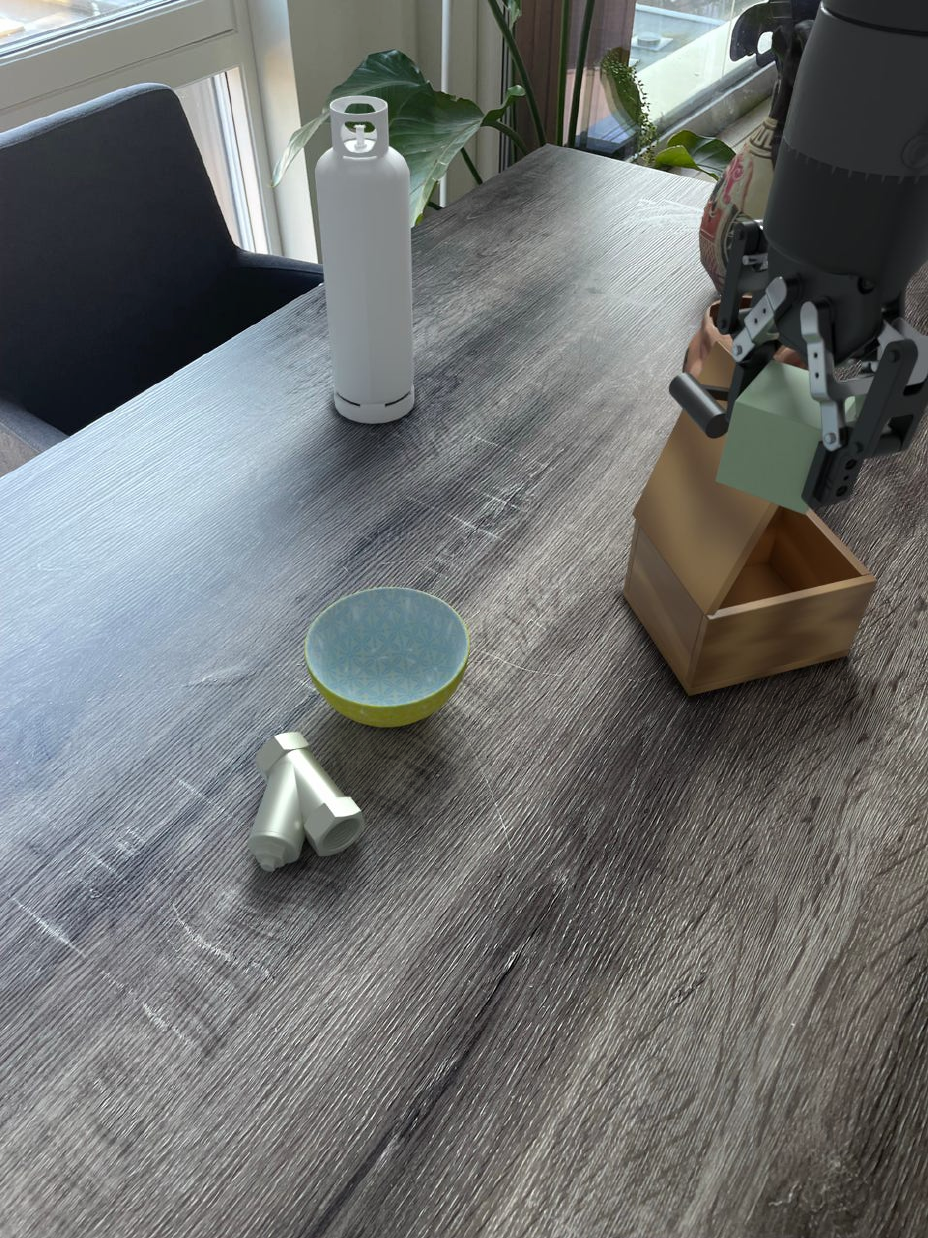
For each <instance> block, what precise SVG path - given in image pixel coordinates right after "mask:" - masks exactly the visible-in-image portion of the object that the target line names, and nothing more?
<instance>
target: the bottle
mask: <svg viewBox="0 0 928 1238" xmlns="http://www.w3.org/2000/svg"><path fill="white" fill-rule="evenodd" d="M353 104H364V105H365V104H367V105H370V106H372V108H373V109H374V111H373V112H369V113H347V112H346V110H347V108H348V107H349V106H350V105H353ZM388 106H389V105H388V102H387V101H386V100H384V99H382V98H379V97H375V96H370V95H348V96H344V97H343V96H342V97H340V98H336V99H334V100H332V101H331V102H330V104H329V116H330V129H331V130H330V131H331V142H332V143H331V144H332V145H331V146H332V147H331V148H328V149H327V150H326V151H325V152H324V153H323V154H322V155H321V156H320V158H319V159H318V161H317V162H316V165H315V169H314V177H315V191H316V200H317V201H316V202H317V213H318V226H319V237H320V247H321V259H322V271H323V282H324V283H323V284H324V294H325V295H324V296H325V308H326V317H327V318H326V319H327V329H328V342H329V354H330V363H331V364H330V365H331V376H332V377H331V378H332V382H333V388H332V389H333V399H334V406H335V410H337V412H338V413H339V414H340V415H341V416H343V417H345V418H346V419H348V420H349V421H354V422H357V423H362V424H371V425H372V424H373V425H374V424H384V423H389V422H393V421H396V420H399V419H401V418H402V417H404V416H406V415H408V414H409V412H410V411H412V410H413V407H414V405H415V386H414V380H415V365H414V363H415V362H414V322H413V321H414V320H413V319H414V318H413V317H414V315H413V272H412V271H413V269H412V268H413V267H412V228H411V182H410V181H411V180H410V179H411V178H410V177H411V176H410V169H409V167H408V164H407V162H406V159H405V157H404V156H403V155H402V154H401V153H400V152H398V150H396V149H395V148H393V147H392V146H390V137H389V136H390V135H389V134H390V133H389V132H390V131H389V112H388V111H389V110H388V109H389V107H388ZM349 122H351V123H365V122H367V123H371V124H372V126H373V127H374V130H373V131H371V132H365V129H366V128H367V126H366V124H362V125H361V124H354V126H353V128H355V132H353V131H350V130H349V129H348V128H347V126H346V123H349ZM402 398H403V399H402ZM398 400H399V401H398ZM348 401H349V402H348ZM396 401H398V402H396ZM350 402H351V403H350ZM394 402H395V403H394ZM352 403H353V404H352ZM354 403H355V404H354ZM391 403H392V404H391ZM356 404H357V405H356ZM386 404H387V405H386Z"/></svg>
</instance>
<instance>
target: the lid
mask: <svg viewBox="0 0 928 1238" xmlns="http://www.w3.org/2000/svg"><path fill="white" fill-rule="evenodd" d="M735 364H736V361H735V360H734V358H733V356H732V353H731V346H729V345H728V344H727V343H726V342H725V341H721V340H716V341H715V343H714V345H713V347H712V349H711V351H710V353H709V355H708V357H707V359H706V361H705V364H704V366H703V368H702V370H701V372H700V374H699V376H698V378H697V380H696V379H695V377H694V376H693V375H692V374H690V373H682V372H681V373H679V374H677V375H675V377H673V378H672V380H671V381H670V383H669V386H668V393H669V395H670V397H671V398H673V400H674V401H675V402H676V403H677V404H678V406H680V408H681V409H682V410H681V411H680V413H679V415H678V417H677V419H676V422H675V423H674V426H673V428H672V429H671V432H670V434H669V436H668V438H667V440H666V442H665V445H664V446H663V449H662V451H661V453H660V454H659V457H658V459H657V461H656V463H655V465H654V466H653V469H652V470H651V473H650V475H649V478H648V480H647V482H646V484H645V486H644V489H643V490H642V492H641V494H640V496H639V498H638V500H637V503H635V506H634V509H633V511H632V513H631V515H632V516H633V518H634V519H635V520H637V522H638V523H639V524H640V526H641V527H642V529H643V530H644V531H645V533H646V534H647V535H648V537H649V538H650V540H651V541H652V542H653V544H654V545H655V547H656V548H657V549H658V551H659V552H660V553H661V555H662V556H663V558H664V559H665V560H666V562H667V563H668V565H669V566H670V567H671V569H672V570H673V571H674V573H675V574H676V576H677V577H678V578H679V580H680V581H681V583H682V584H683V585H684V587H685V588H686V589H687V591H688V592H689V594H690V595H691V596H692V598H693V599H694V601H695V602H696V603H697V605H698V606H699V607H700V609H701V610H702V612H703V613H704V614H705V615H712V616H714V615H715V613H716V612H717V610H718V608H719V607H720V605H721V603H722V602H723V600H724V598H725V596H726V595H727V593H728V591H729V590H730V588H731V586H732V585H733V583H734V581H735V579H736V578H737V576H738V574H739V573H740V571H741V569H742V568H743V566H744V564H745V562H746V561H747V559H748V557H749V556H750V554H751V552H752V551H753V549H754V547H755V545H756V544H757V542H758V540H759V539H760V537H761V535H762V534H763V532H764V530H765V528H766V527H767V525H768V523H769V522H770V520H771V518H772V517H773V515H774V513H775V511H776V510H777V508H778V506H779V505H777V504H775V503H772V502H769V501H767V500H764V499H761V498H759V497H756V496H753V495H751V494H748V493H745V492H743V491H740V490H737V489H735V488H732V487H729V486H727V485H724V484H721V483H718V482H716V478H717V473H718V469H719V465H720V461H721V457H722V453H723V449H724V445H725V440H726V436H727V432H728V428H729V424H730V423H729V422H728V421H727V420H726V419H725V414H726V410H727V398H728V394H729V390H730V385H731V383H732V382H731V381H732V377H733V373H734V368H735Z"/></svg>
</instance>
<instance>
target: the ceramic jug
mask: <svg viewBox="0 0 928 1238" xmlns="http://www.w3.org/2000/svg"><path fill="white" fill-rule="evenodd" d="M814 22H815V19H805V20H802V21H801V22H798V23H796V24H795V25H794V28H793V30H792V32H791V31H790V29H789V28H788V26H786V25H783V24H781V25H779V26H778V27H777V28H776V29H775V30H774V32H773V33H772V35H771V43H770V44H771V45H770V50H771V51H772V52H773V54H775V56H776V57H777V58H778V59H779V60H780V61H781V63H782V74H781V75H782V76H781V83H780V87H779V91H778V92H777V95H776V98H775V102H774V106H773V108H772V110H771V112H770V113H768V115H767V116H766V118H765V119H764V120H763V122H762V123H761V124H760V125H759V127H757V129H756V130H755V131H754V132H753V134H751V136H750V137H749V138H748V139H747V140H746V141H745V143H744V144H743V146H742V147H741V148H740V149H739V150H738V152H737V153H736V154H735V156H734V157H733V158H732V160H731V161H730V162H729V163H728V165H727V166H726V167H725V169H724V170H723V172H722V173H721V175H720V177H719V178H718V179H717V181H716V183H715V185H714V187H713V189H712V191H711V194H710V195H709V197H708V199H707V202H706V204H705V205H704V208H703V214H702V216H701V220H700V225H699V228H698V229H699V230H698V247H699V257H700V258H699V261H700V264H701V266H702V267H703V269H704V270H705V272H706V273H707V275H708V277H709V279H710V280H711V282H712V283H713V285H714V287H715V290H716V292H717V294H718V293H719V294H720V295H722V290H723V285H724V280H725V274H726V269H727V264H728V259H729V253H730V248H731V243H732V238H733V232H734V228H735V226H736V224H737V223H740V222H747V221H751V220H757V219H763V217H764V213H765V209H766V204H767V200H768V196H769V191H770V187H771V183H772V179H773V174H774V170H775V166H776V161H777V157H778V153H779V148H780V144H781V140H782V135H783V131H784V127H785V123H786V119H787V114H788V110H789V106H790V101H791V97H792V93H793V88H794V84H795V80H796V76H797V72H798V68H799V64H800V61H801V58H802V55H803V52H804V49H805V46H806V44H807V41H808V38H809V36H810V33H811V30H812V27H813V25H814ZM719 294H718V299H719V300H721V296H720V295H719ZM752 295H753V292H748V293H746V294H744V295H743V296H752Z"/></svg>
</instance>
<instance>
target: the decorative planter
mask: <svg viewBox="0 0 928 1238" xmlns="http://www.w3.org/2000/svg"><path fill="white" fill-rule="evenodd" d="M751 300H752V296H743V297H742V300H741V305H740V310H741V309H747V308H750V304H751ZM720 301H721V300H716V301H714V302H713V303H712V304H711V305H710V306H709V307H708V308H707V309H706V311H705V312H704V314H703V316H702V318H701V322H700V328H699V329H698V331H697V332H696V333H695V334H694V336H693V337H692V339H691V340H690V342H689V344H688V346H687V348H686V351H685V354H684V357H683V363H682V367H681V368H682V370H681V373H690V374H692V375H693V376H694V377H695V379H696V380H697V378H698V376H699V374H700V372H701V370H702V368H703V366H704V364H705V361H706V359H707V357H708V355H709V353H710V351H711V349H712V347H713V345H714V343H715V341H716V340H721V341H725V342H726V343H727V344H728V345H729V346H732V342H733V340H732V338H731V337H730V335H729V334H728V335H721V334H720V333H719V331H718V328H717V317H718V311H719V306H720ZM773 358H774V359H776V360H777V361H778V362H781V363H784V364H788V365H791V366H794V367H797V368H800V369H803V370H807V371H809V368H808V366H807V365H806V364H804V362H803V361H802V359H801V358H800V356H799V355H798V353H797V352H796V351H794V350H792V349H789V348H787V347H786V348H785V349H784V350H783V351H782V352H781V353H780V354H779V355H775V356H774V357H773Z"/></svg>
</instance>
